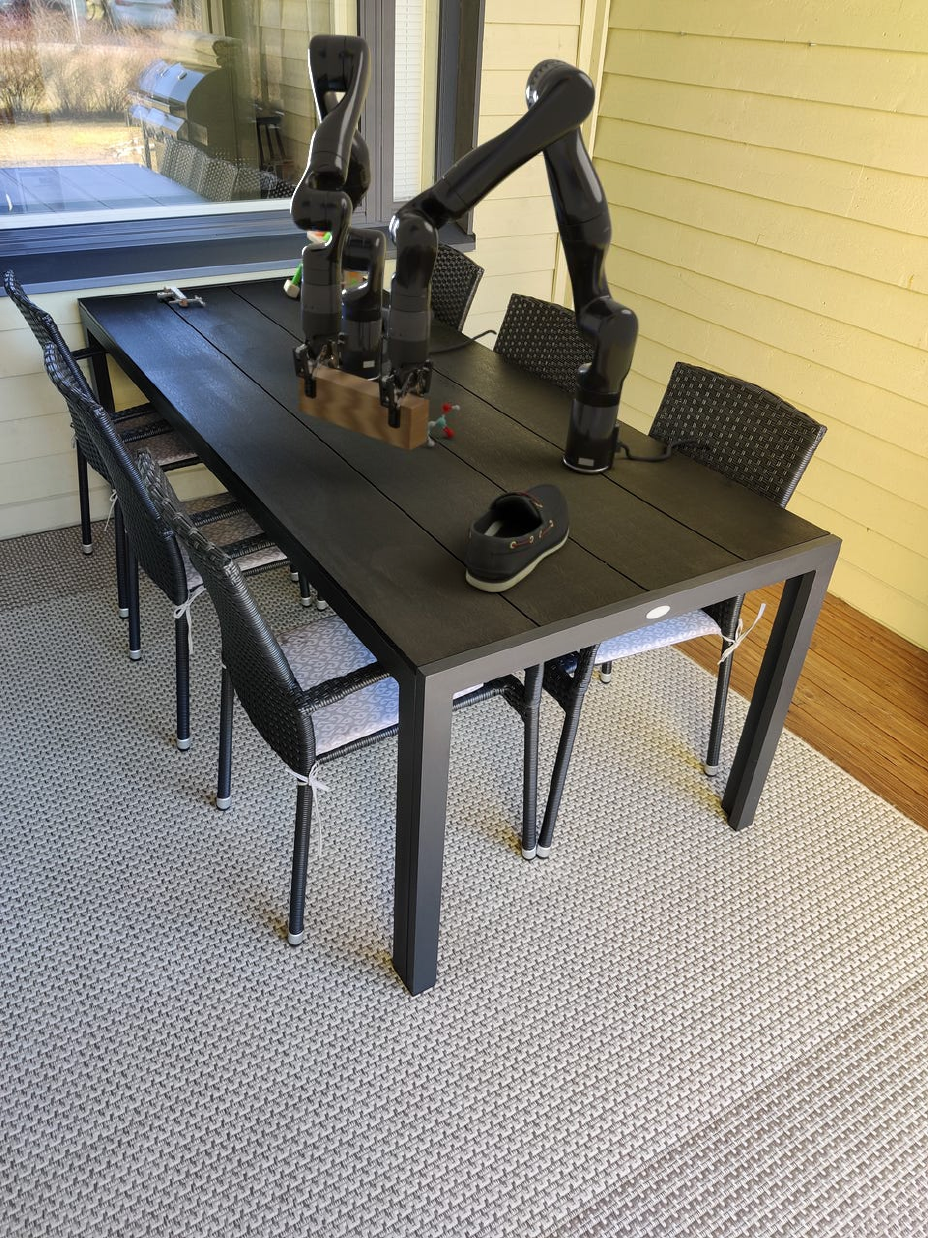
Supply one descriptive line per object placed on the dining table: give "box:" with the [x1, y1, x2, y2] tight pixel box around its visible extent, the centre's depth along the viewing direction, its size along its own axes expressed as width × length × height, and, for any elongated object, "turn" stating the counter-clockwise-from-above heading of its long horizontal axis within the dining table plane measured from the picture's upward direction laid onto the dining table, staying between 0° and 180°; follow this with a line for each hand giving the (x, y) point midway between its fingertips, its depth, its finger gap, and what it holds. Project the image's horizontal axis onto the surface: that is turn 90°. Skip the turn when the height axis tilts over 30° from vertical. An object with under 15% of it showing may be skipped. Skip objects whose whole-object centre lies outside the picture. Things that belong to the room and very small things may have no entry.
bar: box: [297, 364, 430, 451], centre depth 185 cm, size 26×6×8 cm, turn 57°
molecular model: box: [427, 403, 461, 448], centre depth 203 cm, size 12×10×10 cm
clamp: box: [156, 285, 207, 307], centre depth 265 cm, size 15×2×10 cm
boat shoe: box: [464, 483, 570, 593], centre depth 168 cm, size 13×33×10 cm, turn 147°
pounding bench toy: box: [283, 231, 368, 298], centre depth 277 cm, size 23×14×18 cm, turn 116°
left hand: (321, 392), depth 189 cm, fingers closed on bar, 5 cm apart
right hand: (404, 421), depth 181 cm, fingers closed on bar, 5 cm apart
